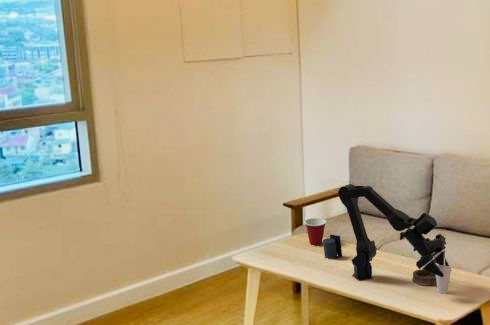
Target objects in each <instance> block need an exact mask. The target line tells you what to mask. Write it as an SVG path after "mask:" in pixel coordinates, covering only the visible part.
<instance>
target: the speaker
mask: <svg viewBox="0 0 490 325" xmlns="http://www.w3.org/2000/svg"><path fill="white" fill-rule="evenodd" d="M322 244H323V250H324V251H323V252H324V258H325V259H327V258H328V260H333V259H332V258H334V259H335V258H338V257H339V256H342V257H343V252H342V251H343V249H342V241H341V235H336V234H329V237H327V238H323V239H322ZM337 255H338V256H337Z"/></svg>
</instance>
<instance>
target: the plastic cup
mask: <svg viewBox="0 0 490 325" xmlns="http://www.w3.org/2000/svg"><path fill="white" fill-rule="evenodd" d="M304 224H305V227H306V231H307V237H308V242H309V244H311V245H310V246H312V245H319V246H321V245H322V244H323V240H324V234H325V228H326V224H327V220H326V219H324V218H322V217H321V218H320V217H311V218H307V219H305V220H304ZM320 244H321V245H320Z"/></svg>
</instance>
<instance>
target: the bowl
mask: <svg viewBox="0 0 490 325" xmlns="http://www.w3.org/2000/svg"><path fill="white" fill-rule="evenodd" d="M412 282H413V283H414V284H416V285H420V286H423V287H425V286H426V287H434V286H436V287H437V282H436V274H434V273H431V272H429V271H427V270H424V269H422V268H421V269H416V270H414V271H412Z"/></svg>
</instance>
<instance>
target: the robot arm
mask: <svg viewBox="0 0 490 325" xmlns="http://www.w3.org/2000/svg"><path fill="white" fill-rule="evenodd" d="M337 195H338V197H339V200H340V201H341V203H342V205H343V206H345V208H346V210H347V213H348V216H349V222H350V223H351V226H352V230H353V233H354V237H355V240H356V245H355V251H356V256H354V257H353V258H352V259H351V263H352V266H353V273H352V277H354V278H355V279H356V280H358V281H364V280H372V279H373V278H374V277H373V266H372V263H371V262H372V261H373V259H374V258H375V257H376V255H377V250H378V248H377V247H376V242H375V240H373V239H372V240H370V238H369V237H368V234H367V230H366V228H365V224H364V220H363V217H362V214H361V210H360V206H359V198H365V199H366V200H367V201H368V202H369V203H371V204H372V205H373V206H374V207H375V208H376V209H377V210H378V211H379V212H381V213H382V215H383V216H384V217H385V218H386V219H387V222H388V224H389V225H390V227H392V228H393V230H395V231H397V232H400V233H399V240H400V241H402V240H403V239H405V240H407V241H408V243H409V244H410V245H411V246H412V248H413V249H412V250H413V251H414V252H417V253H418V254H419V255H420V259H419V260H417V261H416V262H415V264H416V265H415V266H416V267H417V268H418V270H420V269H424V270H427V271H429V272H431V273H434V274H436V275H438V276H440V277H443V276H444V275H443V273H442V272H441V270H440V269H439V267H438V266H437V265H444V257H445V256H446V255H445V254H446V245H447V242H446V239H447V238H446V237H445V236H444V235H442V233H439V234H436V235H435V238H433V239H431V238H429V237H427V238H426V237H424V235H425V236H426V235H428V234H429V233H430V232H431V231H432V230H433V229H435V228H436V227H437V226H438V223H437V220H436V219H435V218H434V217H432V216H431V215H429V214H427V212H423V213H422V214H420V216H419V217H418V218H414V217H410V216H409V215H408V214H407V213H405V212H403V211H401V210H400V209H396V208H395V207H393V205H391V204H390V202H388V201H387V200H386V199H385V198H384V197H382V196H381V195H380V193H378V192H377V191H376V190H374V189H373V187H372V186H371V185H354V184H352V183H349V184H346V185H344V186H341V187H340V188H339V189H338V192H337ZM404 230H405V231H404ZM445 265H446V266H449V267H451V266H450V265H449V263H448V261H447V258H446V257H445Z"/></svg>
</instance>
